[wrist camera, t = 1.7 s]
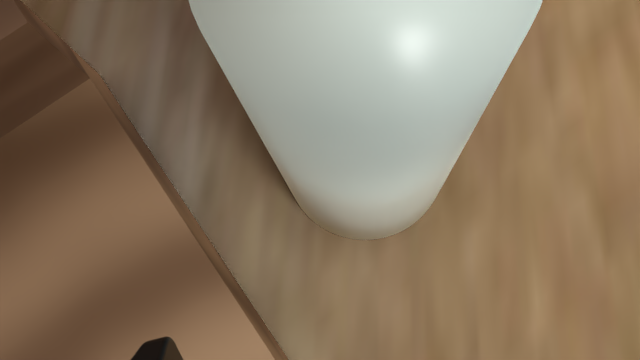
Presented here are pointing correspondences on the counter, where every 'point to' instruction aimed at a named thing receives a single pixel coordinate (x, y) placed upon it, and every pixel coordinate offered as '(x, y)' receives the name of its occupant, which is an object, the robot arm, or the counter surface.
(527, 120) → the counter surface
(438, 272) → the counter surface
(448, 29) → the pale upright pillar block
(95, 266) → the walnut shelf board
